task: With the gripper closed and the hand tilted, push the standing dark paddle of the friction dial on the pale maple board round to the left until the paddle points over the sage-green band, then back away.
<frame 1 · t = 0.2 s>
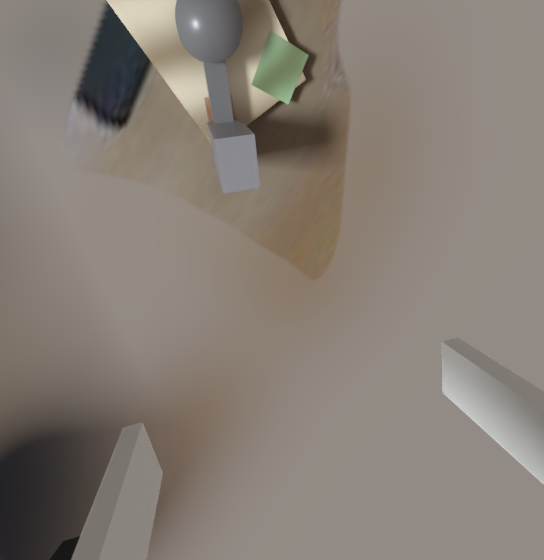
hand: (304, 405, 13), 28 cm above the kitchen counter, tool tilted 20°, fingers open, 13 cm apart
peg: (221, 89, 24), point 6 cm above the kitchen counter, hinge at 0.0°
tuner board: (206, 28, 27), on the kitchen counter
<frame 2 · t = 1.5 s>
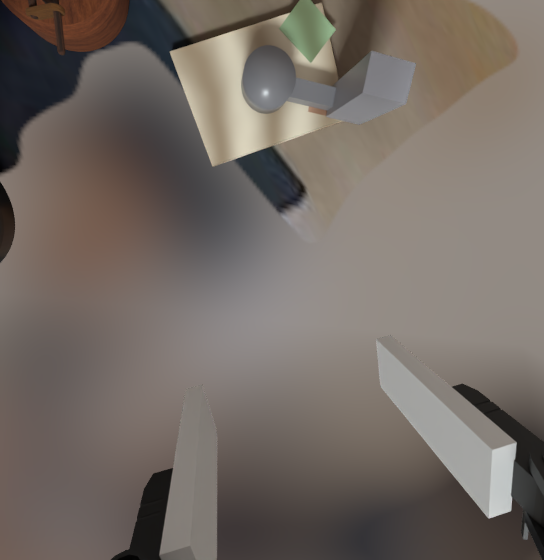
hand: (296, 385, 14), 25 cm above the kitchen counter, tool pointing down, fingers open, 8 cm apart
peg: (317, 82, 28), point 6 cm above the kitchen counter, hinge at 0.0°
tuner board: (263, 91, 33), on the kitchen counter
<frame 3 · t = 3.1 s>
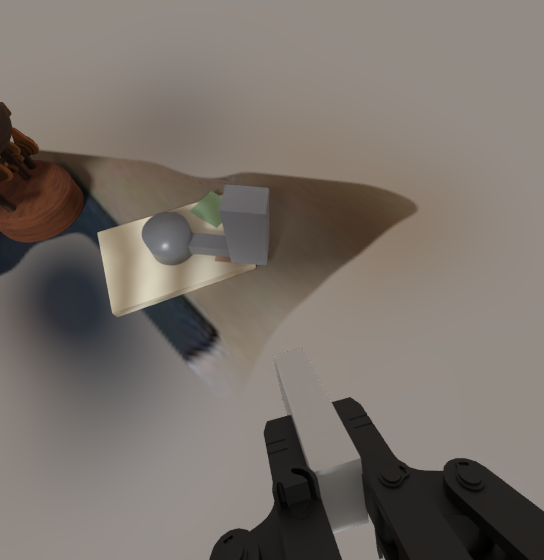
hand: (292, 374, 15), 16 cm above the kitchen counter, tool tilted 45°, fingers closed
music box: (42, 214, 40), on the kitchen counter
peg: (202, 225, 31), point 6 cm above the kitchen counter, hinge at 0.0°
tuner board: (177, 252, 37), on the kitchen counter
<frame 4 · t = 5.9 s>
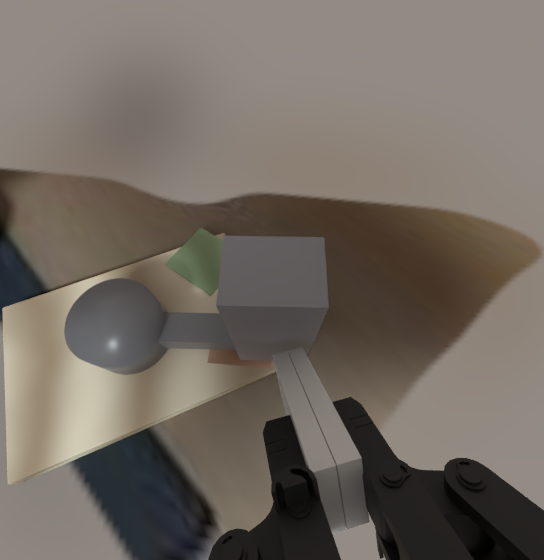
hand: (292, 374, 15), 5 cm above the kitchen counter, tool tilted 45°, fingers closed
peg: (180, 310, 16), point 6 cm above the kitchen counter, hinge at 3.9°, touching gripper
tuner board: (142, 340, 21), on the kitchen counter
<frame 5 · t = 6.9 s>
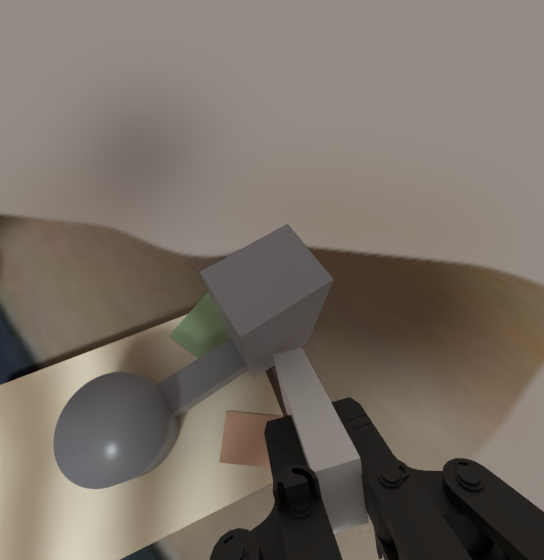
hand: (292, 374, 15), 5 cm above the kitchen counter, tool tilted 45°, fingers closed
peg: (182, 370, 14), point 6 cm above the kitchen counter, hinge at 38.6°, touching gripper
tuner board: (144, 427, 19), on the kitchen counter
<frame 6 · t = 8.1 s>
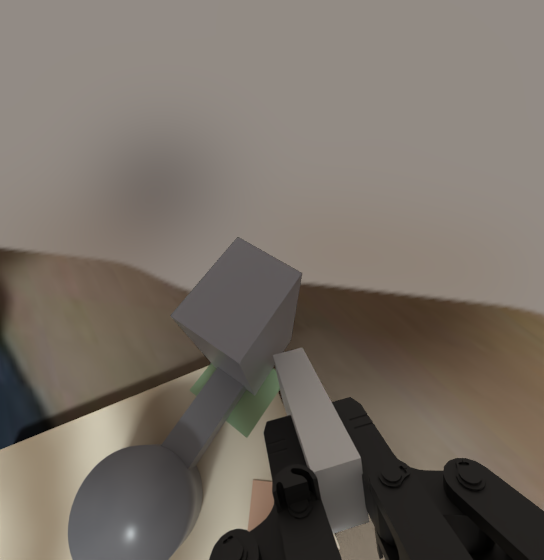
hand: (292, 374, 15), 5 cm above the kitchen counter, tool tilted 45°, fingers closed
peg: (185, 419, 13), point 6 cm above the kitchen counter, hinge at 62.1°, touching gripper
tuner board: (163, 493, 17), on the kitchen counter
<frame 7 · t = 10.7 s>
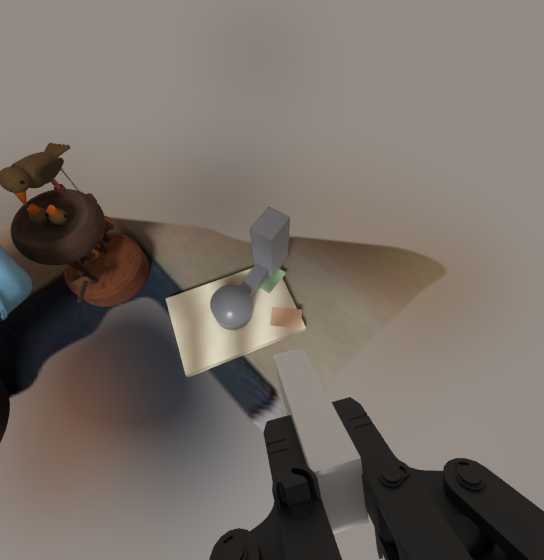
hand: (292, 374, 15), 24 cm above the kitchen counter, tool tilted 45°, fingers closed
music box: (113, 279, 45), on the kitchen counter
peg: (249, 271, 38), point 6 cm above the kitchen counter, hinge at 62.3°
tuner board: (234, 315, 42), on the kitchen counter
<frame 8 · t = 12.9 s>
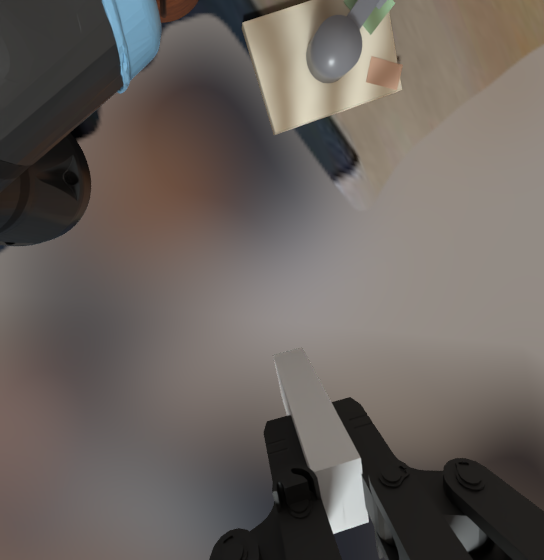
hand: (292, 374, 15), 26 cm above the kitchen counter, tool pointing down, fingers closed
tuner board: (324, 62, 35), on the kitchen counter
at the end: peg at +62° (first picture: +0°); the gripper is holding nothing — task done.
